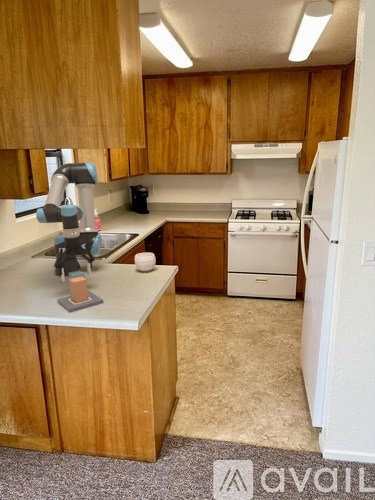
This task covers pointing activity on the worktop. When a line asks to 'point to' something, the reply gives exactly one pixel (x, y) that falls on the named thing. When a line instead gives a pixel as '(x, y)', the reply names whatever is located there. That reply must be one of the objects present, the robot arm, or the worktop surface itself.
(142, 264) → the cup
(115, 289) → the worktop surface
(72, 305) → the base plate
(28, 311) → the worktop surface
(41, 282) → the worktop surface
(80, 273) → the teal block
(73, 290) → the terracotta block
